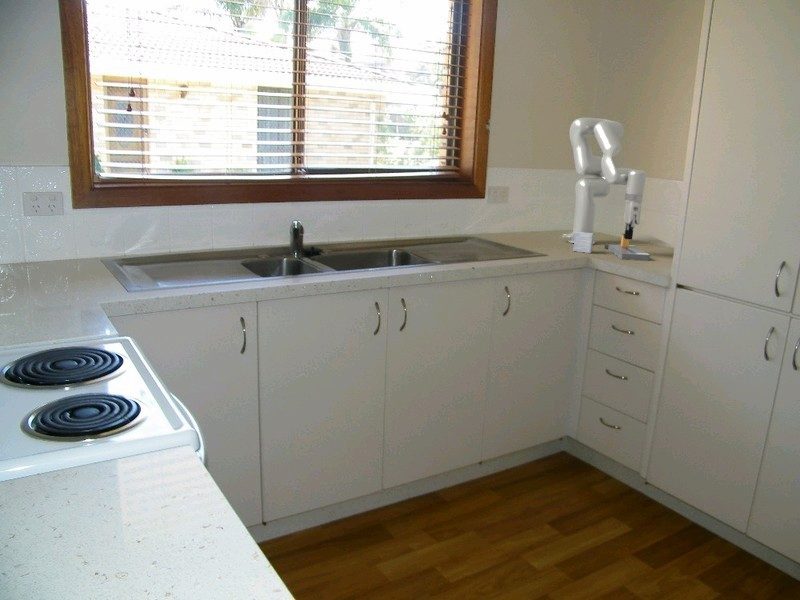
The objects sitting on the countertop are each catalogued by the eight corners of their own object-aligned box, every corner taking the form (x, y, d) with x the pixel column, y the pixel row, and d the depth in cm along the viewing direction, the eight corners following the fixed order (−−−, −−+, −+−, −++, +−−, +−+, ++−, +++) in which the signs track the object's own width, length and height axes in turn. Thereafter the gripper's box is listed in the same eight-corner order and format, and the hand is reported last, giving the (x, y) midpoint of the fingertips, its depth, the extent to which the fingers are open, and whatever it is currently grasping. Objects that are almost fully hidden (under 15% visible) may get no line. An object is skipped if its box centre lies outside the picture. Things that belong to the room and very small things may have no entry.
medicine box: (592, 252, 321) (594, 233, 319) (590, 253, 317) (592, 234, 315) (574, 250, 324) (576, 231, 322) (572, 251, 320) (574, 232, 318)
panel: (621, 259, 306) (622, 253, 306) (608, 249, 330) (608, 244, 329) (649, 260, 306) (650, 254, 305) (633, 250, 329) (634, 245, 329)
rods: (606, 249, 330) (606, 245, 330) (604, 247, 334) (604, 244, 334) (636, 250, 330) (636, 247, 330) (633, 249, 334) (634, 245, 333)
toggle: (621, 251, 323) (623, 234, 321) (620, 250, 325) (622, 233, 323) (628, 251, 323) (630, 234, 321) (626, 250, 325) (628, 233, 323)
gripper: (647, 200, 306) (641, 242, 311) (637, 196, 320) (631, 236, 325) (629, 199, 306) (624, 241, 311) (620, 195, 320) (615, 235, 325)
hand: (628, 238), depth 318 cm, fingers closed
